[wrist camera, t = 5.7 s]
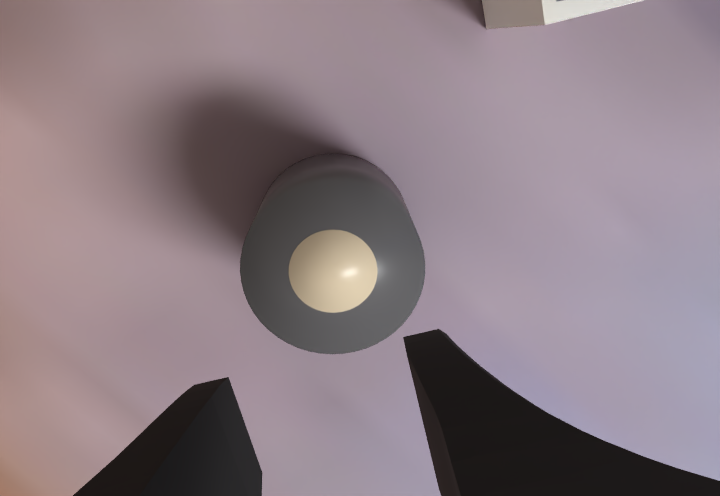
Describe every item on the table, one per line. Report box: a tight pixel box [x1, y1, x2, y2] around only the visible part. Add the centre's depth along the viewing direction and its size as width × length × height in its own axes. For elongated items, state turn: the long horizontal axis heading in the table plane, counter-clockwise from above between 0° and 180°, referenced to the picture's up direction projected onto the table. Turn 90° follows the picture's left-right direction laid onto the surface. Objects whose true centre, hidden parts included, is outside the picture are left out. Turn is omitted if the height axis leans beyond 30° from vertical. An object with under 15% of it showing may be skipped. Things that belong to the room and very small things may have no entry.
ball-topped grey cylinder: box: [240, 154, 425, 354], centre depth 18 cm, size 5×5×4 cm
